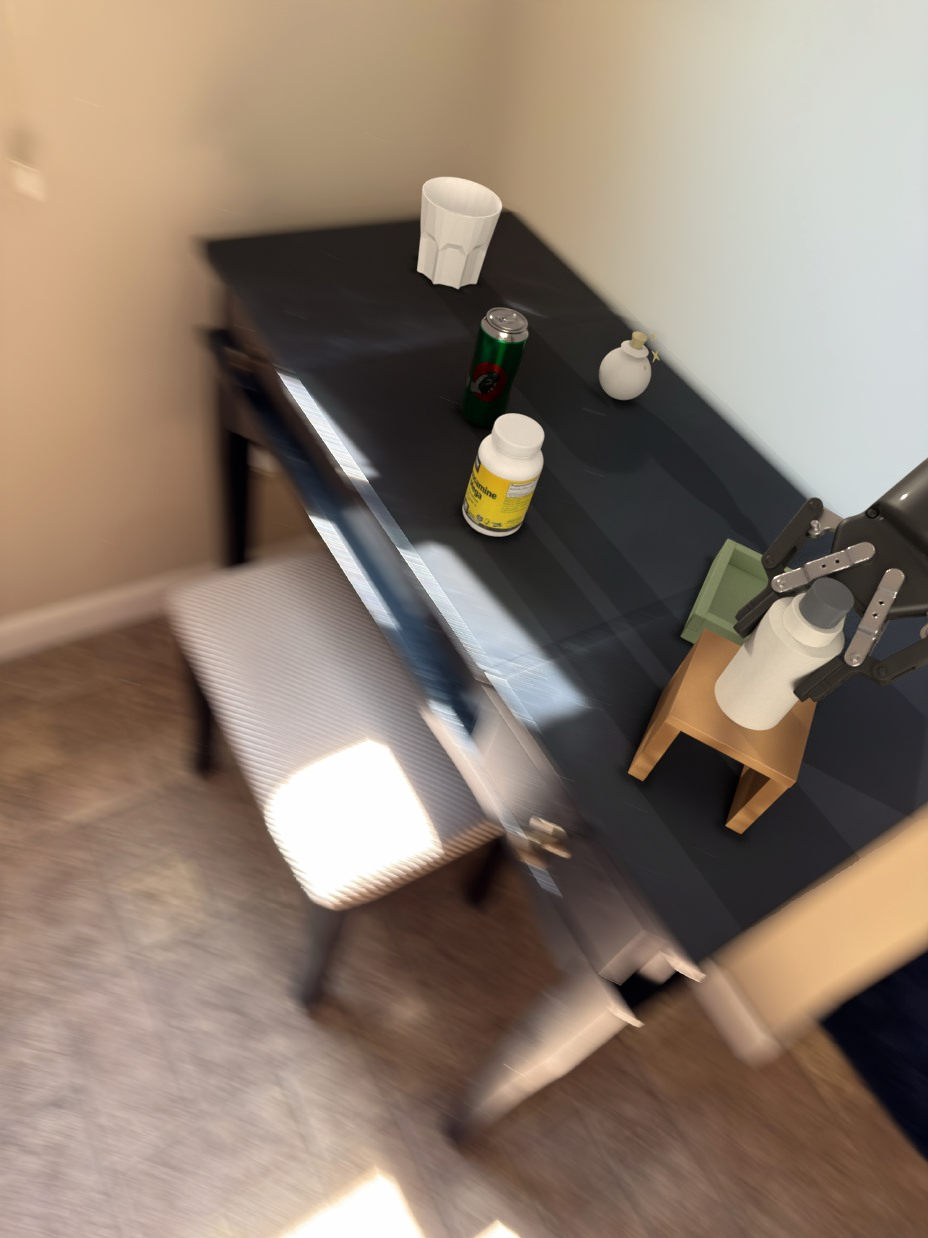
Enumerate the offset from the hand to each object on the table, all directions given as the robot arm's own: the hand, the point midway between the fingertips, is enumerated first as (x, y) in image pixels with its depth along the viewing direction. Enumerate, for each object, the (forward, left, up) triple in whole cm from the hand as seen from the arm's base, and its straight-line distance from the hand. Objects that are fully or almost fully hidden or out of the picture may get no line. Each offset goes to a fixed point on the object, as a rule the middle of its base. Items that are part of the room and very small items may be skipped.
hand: (768, 664), depth 61 cm
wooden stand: (-1, -2, -15) cm, 15 cm away
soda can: (+34, -31, -15) cm, 48 cm away
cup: (+51, -55, -15) cm, 77 cm away
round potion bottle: (+22, -45, -15) cm, 53 cm away
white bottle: (-1, -2, -6) cm, 6 cm away
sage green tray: (-2, -20, -15) cm, 25 cm away
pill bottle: (+26, -17, -15) cm, 34 cm away
